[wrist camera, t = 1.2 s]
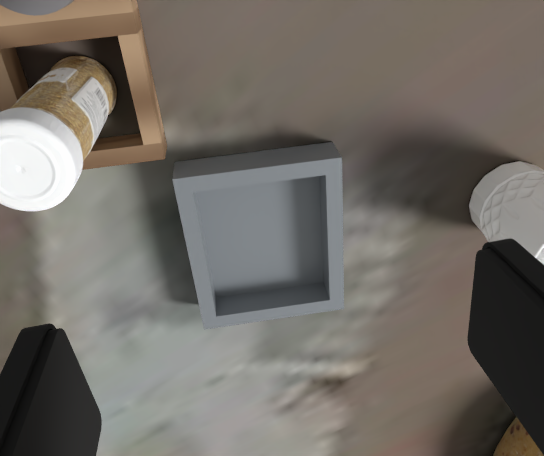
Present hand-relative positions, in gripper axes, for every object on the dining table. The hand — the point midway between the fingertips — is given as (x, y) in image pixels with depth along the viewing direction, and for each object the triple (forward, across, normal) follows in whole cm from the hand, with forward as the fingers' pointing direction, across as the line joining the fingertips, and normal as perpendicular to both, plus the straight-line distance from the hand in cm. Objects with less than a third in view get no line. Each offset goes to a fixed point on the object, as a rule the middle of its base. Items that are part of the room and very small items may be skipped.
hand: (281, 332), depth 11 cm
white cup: (+26, -22, +13) cm, 37 cm away
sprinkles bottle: (+27, +9, -1) cm, 28 cm away
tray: (+27, -1, +12) cm, 30 cm away
